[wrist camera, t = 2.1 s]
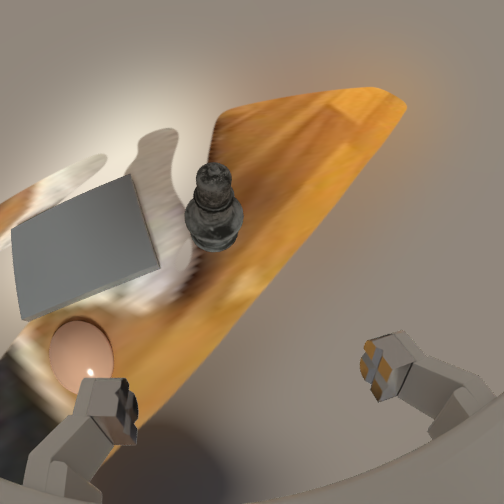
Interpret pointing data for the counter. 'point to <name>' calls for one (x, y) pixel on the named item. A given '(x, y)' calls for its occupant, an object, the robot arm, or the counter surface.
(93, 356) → the peach domed round part
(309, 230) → the counter surface
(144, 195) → the counter surface
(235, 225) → the black rounded upright piece
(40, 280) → the slate board
